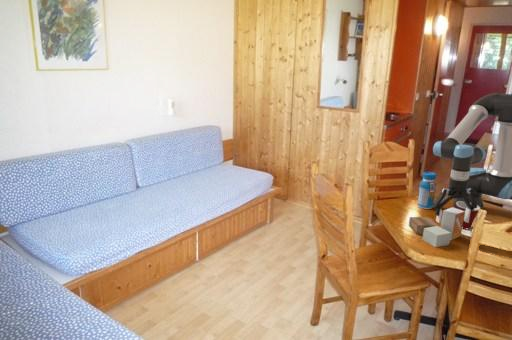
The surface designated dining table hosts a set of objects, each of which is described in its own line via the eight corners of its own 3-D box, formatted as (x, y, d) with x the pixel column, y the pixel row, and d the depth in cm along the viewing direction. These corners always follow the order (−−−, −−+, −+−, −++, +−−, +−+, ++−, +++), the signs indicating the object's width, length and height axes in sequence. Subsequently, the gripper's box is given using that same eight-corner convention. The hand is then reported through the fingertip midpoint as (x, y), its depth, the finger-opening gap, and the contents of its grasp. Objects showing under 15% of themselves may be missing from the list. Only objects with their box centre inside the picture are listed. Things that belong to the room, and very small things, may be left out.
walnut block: (428, 226, 194) (429, 217, 193) (437, 235, 185) (438, 225, 183) (408, 226, 195) (409, 217, 193) (416, 234, 185) (417, 225, 184)
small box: (451, 240, 179) (455, 214, 175) (438, 235, 184) (442, 210, 180) (461, 236, 183) (465, 211, 180) (448, 231, 188) (452, 206, 185)
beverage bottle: (416, 208, 218) (421, 174, 213) (417, 203, 226) (421, 170, 220) (433, 210, 215) (438, 176, 209) (432, 205, 222) (437, 172, 217)
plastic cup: (476, 233, 186) (480, 210, 183) (451, 228, 192) (455, 205, 189) (477, 225, 195) (481, 203, 192) (453, 221, 201) (457, 199, 198)
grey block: (435, 237, 182) (437, 225, 181) (449, 244, 175) (451, 232, 173) (422, 239, 180) (424, 228, 178) (435, 247, 172) (437, 235, 171)
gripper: (436, 181, 171) (430, 225, 177) (490, 181, 173) (482, 224, 178) (428, 176, 179) (422, 218, 184) (480, 176, 180) (473, 218, 186)
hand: (452, 221), depth 181 cm, fingers open, 13 cm apart
